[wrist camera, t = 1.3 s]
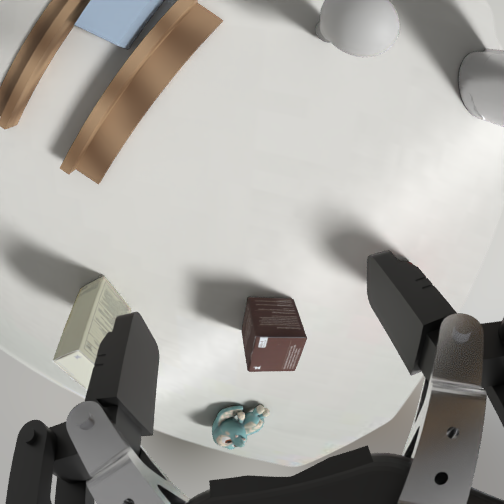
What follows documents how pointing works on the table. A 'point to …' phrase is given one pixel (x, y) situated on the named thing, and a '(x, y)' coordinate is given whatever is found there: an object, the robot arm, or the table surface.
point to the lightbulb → (359, 26)
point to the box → (272, 334)
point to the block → (117, 19)
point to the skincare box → (88, 329)
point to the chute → (122, 86)
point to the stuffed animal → (237, 425)
